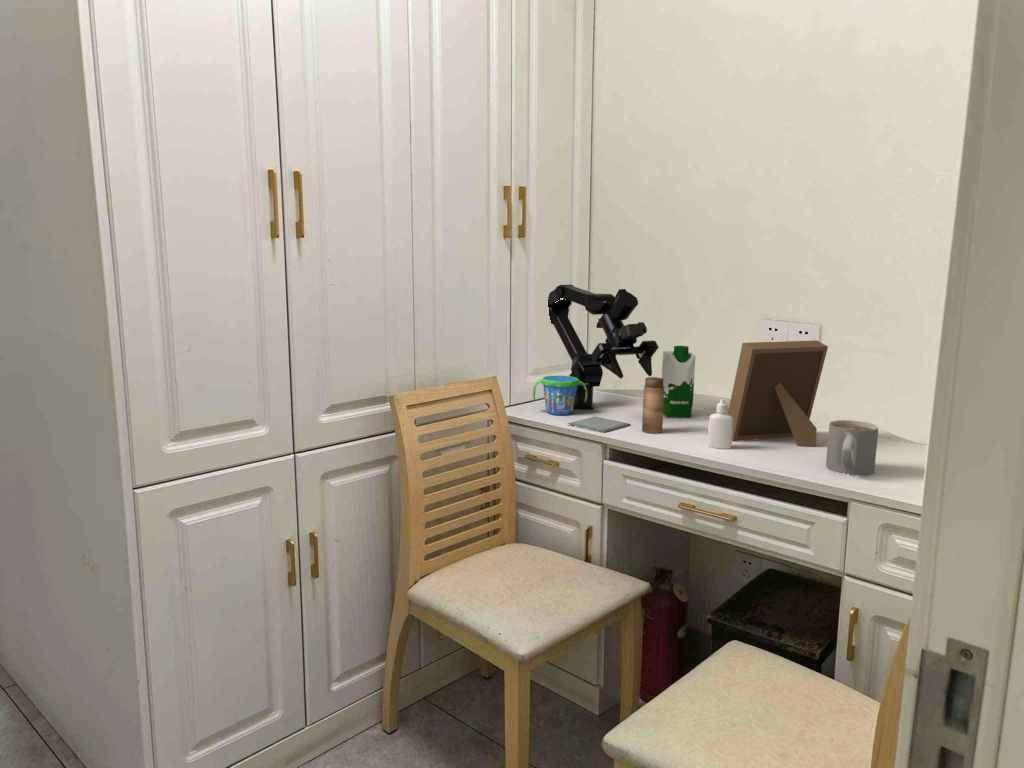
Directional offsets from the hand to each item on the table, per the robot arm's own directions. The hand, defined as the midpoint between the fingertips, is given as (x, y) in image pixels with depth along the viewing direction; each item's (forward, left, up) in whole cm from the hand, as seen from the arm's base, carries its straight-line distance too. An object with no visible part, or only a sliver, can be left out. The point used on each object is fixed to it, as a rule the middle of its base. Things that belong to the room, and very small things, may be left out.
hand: (636, 376), depth 216 cm
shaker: (+7, +5, -13) cm, 16 cm away
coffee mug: (+35, +47, -13) cm, 60 cm away
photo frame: (+11, +36, -13) cm, 40 cm away
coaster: (+3, -9, -13) cm, 16 cm away
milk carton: (-15, +12, -13) cm, 23 cm away
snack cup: (-10, -21, -13) cm, 27 cm away
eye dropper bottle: (+20, +21, -13) cm, 32 cm away
